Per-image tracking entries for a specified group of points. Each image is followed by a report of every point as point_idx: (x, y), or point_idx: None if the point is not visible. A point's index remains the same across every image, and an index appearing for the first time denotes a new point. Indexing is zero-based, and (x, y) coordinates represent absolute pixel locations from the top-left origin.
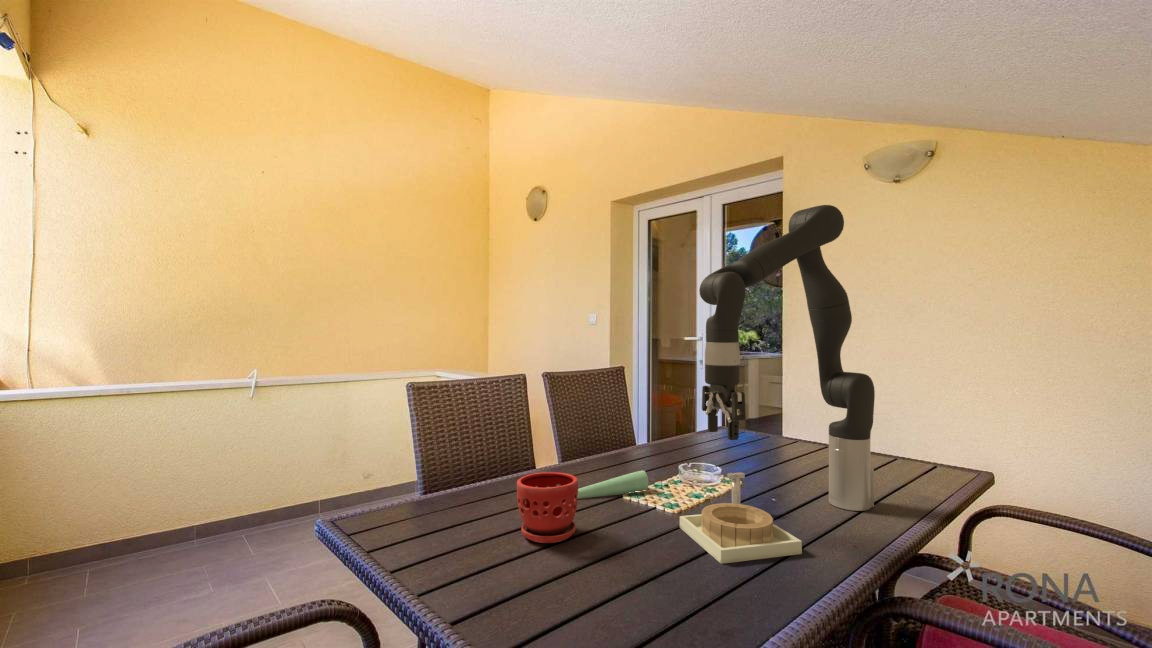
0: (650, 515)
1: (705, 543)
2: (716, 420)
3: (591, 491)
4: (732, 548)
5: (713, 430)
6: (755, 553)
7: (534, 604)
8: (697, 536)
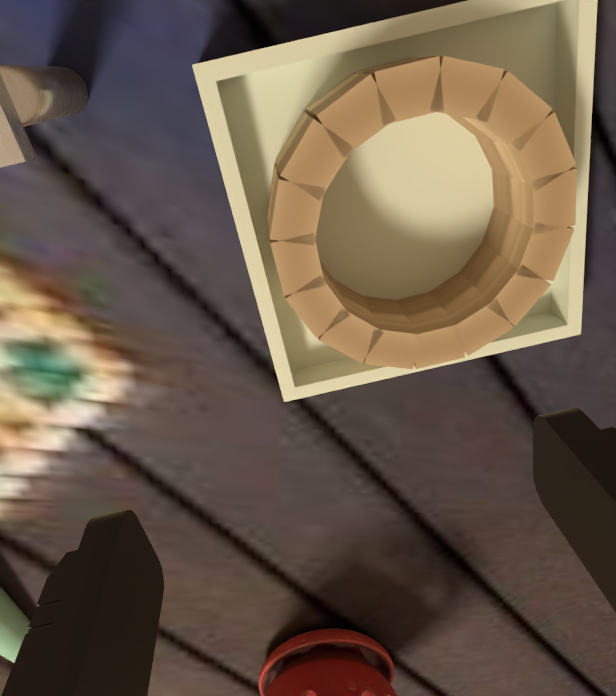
0: (169, 451)
1: None
2: (103, 641)
3: (10, 622)
4: (578, 295)
5: (146, 553)
6: None
7: (605, 644)
8: None
